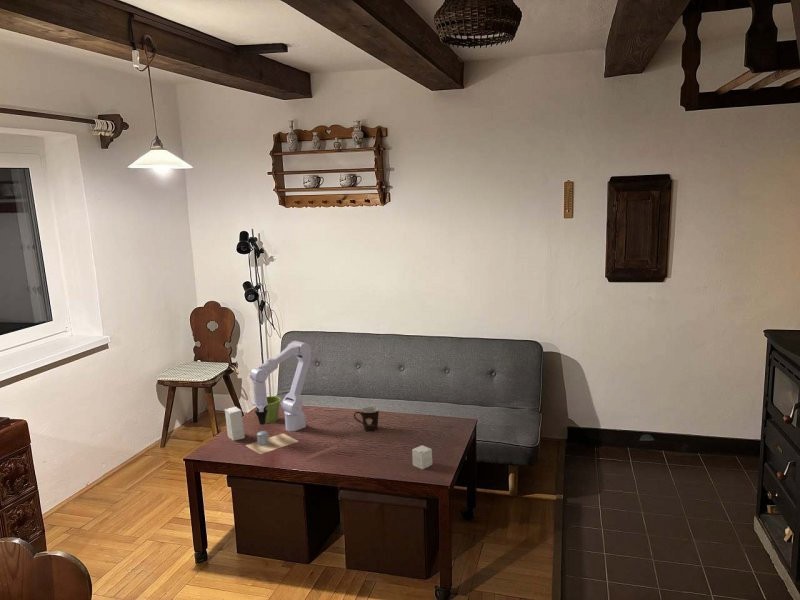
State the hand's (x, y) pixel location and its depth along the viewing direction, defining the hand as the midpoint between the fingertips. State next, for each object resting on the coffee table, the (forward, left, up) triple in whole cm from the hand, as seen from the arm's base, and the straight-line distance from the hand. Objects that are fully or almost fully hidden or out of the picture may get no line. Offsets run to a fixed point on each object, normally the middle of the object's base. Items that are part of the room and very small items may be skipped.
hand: (262, 421), depth 299 cm
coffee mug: (-44, +24, -10) cm, 51 cm away
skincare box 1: (+8, -12, -10) cm, 18 cm away
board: (0, +8, -10) cm, 13 cm away
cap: (+3, +5, -8) cm, 10 cm away
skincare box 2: (-34, +73, -10) cm, 81 cm away
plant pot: (-16, -21, -10) cm, 28 cm away
